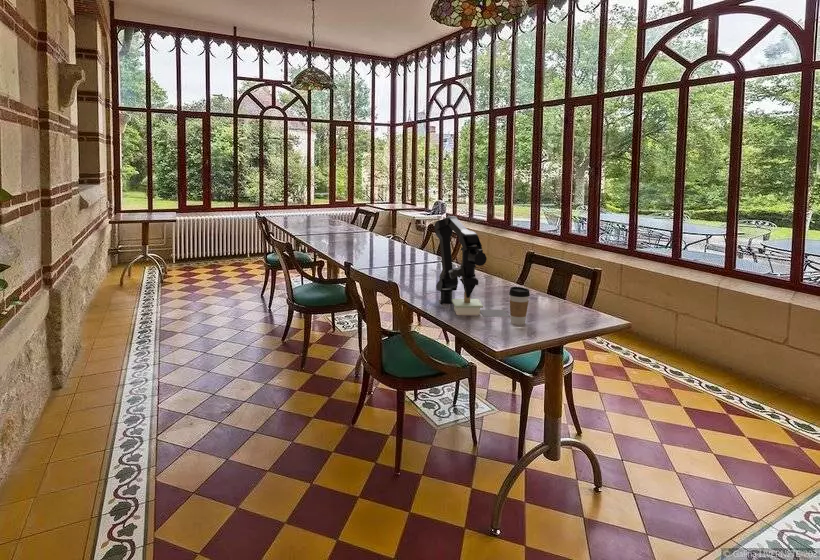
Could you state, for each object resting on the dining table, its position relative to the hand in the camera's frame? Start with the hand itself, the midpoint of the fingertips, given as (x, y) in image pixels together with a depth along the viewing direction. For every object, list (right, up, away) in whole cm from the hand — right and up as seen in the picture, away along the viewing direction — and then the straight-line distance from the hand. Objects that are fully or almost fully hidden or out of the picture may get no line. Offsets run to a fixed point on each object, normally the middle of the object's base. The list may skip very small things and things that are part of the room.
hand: (467, 296), depth 236 cm
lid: (0, -3, +1) cm, 4 cm away
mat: (+12, -8, +1) cm, 14 cm away
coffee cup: (+20, -11, -13) cm, 26 cm away
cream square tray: (0, -7, +1) cm, 8 cm away
